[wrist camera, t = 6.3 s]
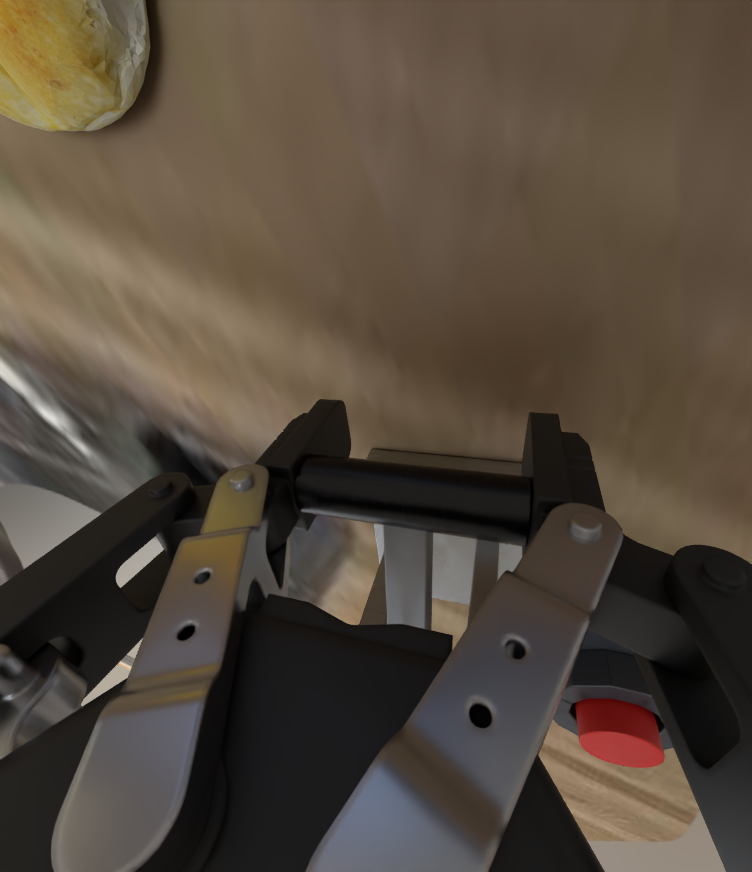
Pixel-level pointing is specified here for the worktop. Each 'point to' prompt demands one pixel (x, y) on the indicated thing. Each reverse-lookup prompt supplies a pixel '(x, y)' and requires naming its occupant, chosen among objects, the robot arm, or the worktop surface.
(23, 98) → the bread roll
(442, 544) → the lever bracket
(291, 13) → the worktop surface
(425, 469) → the press lever
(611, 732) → the button
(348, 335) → the worktop surface
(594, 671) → the button block
